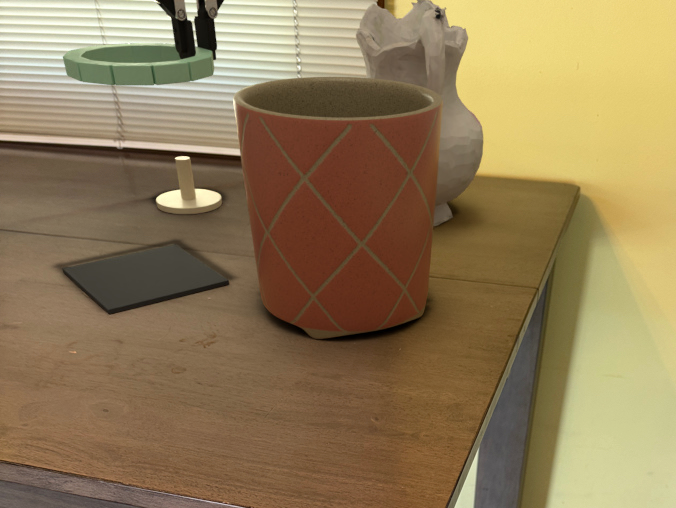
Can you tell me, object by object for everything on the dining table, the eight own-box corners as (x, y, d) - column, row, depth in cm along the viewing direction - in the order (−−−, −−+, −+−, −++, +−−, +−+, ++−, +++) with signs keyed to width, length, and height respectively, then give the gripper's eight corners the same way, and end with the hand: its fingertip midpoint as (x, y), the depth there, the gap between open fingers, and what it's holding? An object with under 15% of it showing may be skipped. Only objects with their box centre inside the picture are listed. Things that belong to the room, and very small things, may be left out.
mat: (109, 314, 79) (108, 309, 79) (63, 272, 87) (62, 268, 87) (229, 284, 85) (229, 280, 85) (176, 248, 94) (175, 244, 93)
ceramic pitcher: (508, 241, 101) (546, 17, 86) (376, 249, 94) (392, 5, 78) (433, 196, 116) (454, -2, 101) (314, 200, 108) (317, -14, 93)
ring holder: (173, 218, 102) (165, 170, 98) (146, 201, 107) (137, 155, 104) (233, 206, 106) (227, 160, 102) (204, 190, 112) (198, 146, 108)
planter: (466, 322, 79) (483, 107, 66) (300, 361, 72) (283, 127, 59) (380, 262, 92) (380, 71, 79) (230, 290, 84) (203, 84, 71)
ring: (102, 90, 77) (98, 70, 76) (48, 67, 86) (43, 49, 85) (239, 76, 85) (237, 57, 84) (176, 56, 94) (173, 39, 93)
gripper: (222, -149, 82) (241, 50, 94) (79, -158, 75) (120, 60, 87) (257, -150, 78) (272, 58, 90) (109, -159, 70) (148, 70, 82)
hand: (197, 58), depth 88 cm, fingers closed on ring, 1 cm apart
